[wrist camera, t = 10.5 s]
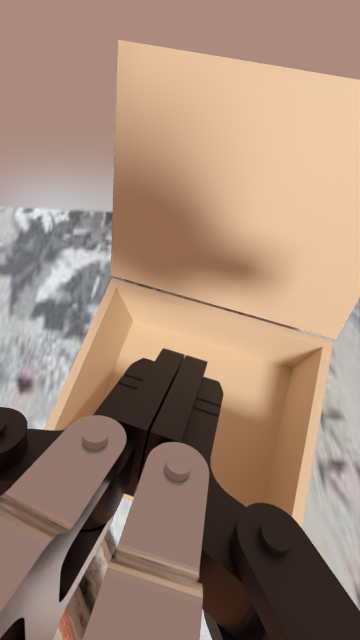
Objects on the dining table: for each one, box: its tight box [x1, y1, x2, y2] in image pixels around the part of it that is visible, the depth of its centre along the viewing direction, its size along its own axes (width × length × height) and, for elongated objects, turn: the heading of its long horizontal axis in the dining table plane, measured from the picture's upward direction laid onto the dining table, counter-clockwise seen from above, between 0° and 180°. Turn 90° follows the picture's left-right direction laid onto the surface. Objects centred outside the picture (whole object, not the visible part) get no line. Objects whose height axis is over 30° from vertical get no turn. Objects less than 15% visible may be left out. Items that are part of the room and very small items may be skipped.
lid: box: [111, 40, 360, 339], centre depth 18 cm, size 16×13×1 cm
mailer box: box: [44, 278, 333, 528], centre depth 24 cm, size 16×13×8 cm
